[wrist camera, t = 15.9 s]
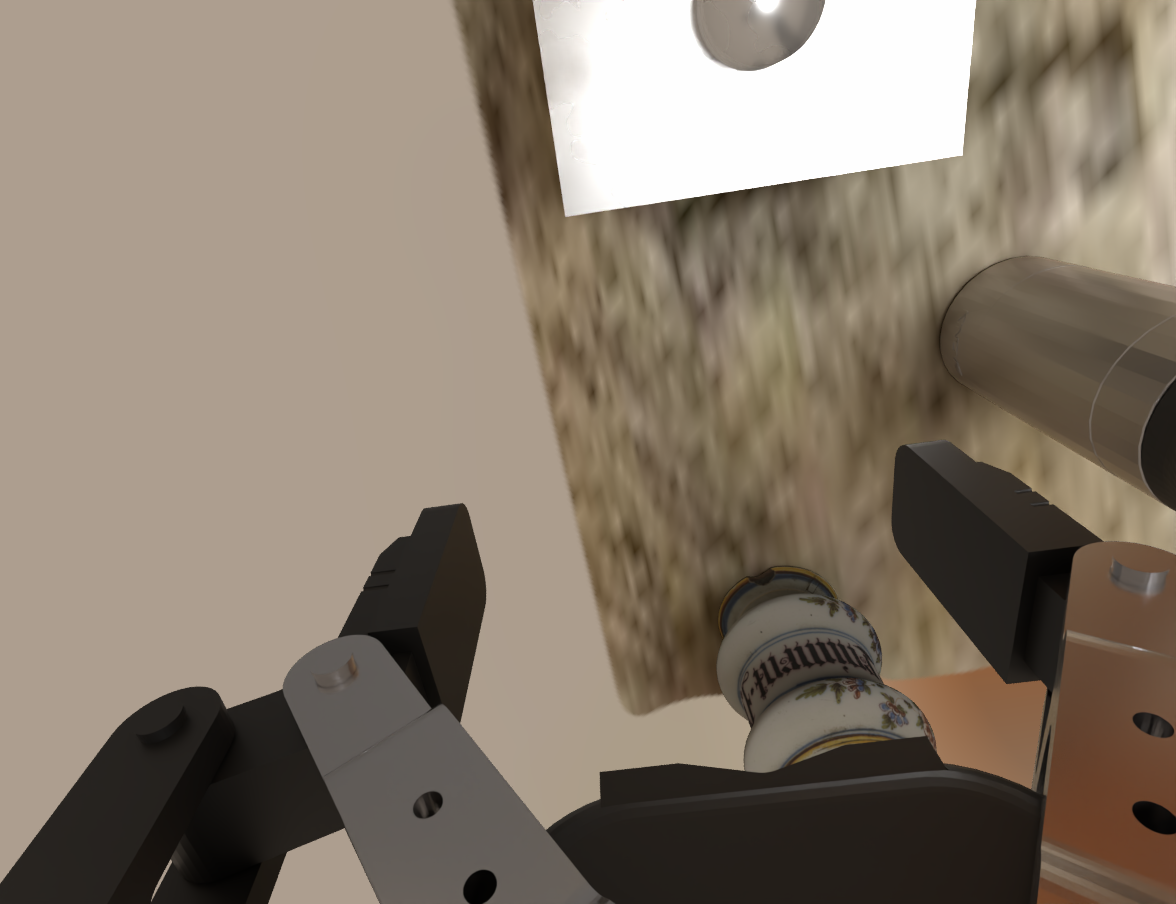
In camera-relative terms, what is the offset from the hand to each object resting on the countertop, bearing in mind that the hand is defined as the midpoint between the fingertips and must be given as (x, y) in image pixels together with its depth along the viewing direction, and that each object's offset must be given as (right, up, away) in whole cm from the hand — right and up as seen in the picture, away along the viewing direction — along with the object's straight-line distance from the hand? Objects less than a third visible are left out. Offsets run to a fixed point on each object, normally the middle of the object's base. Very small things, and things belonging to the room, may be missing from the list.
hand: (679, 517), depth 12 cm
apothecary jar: (+14, -12, +41) cm, 45 cm away
